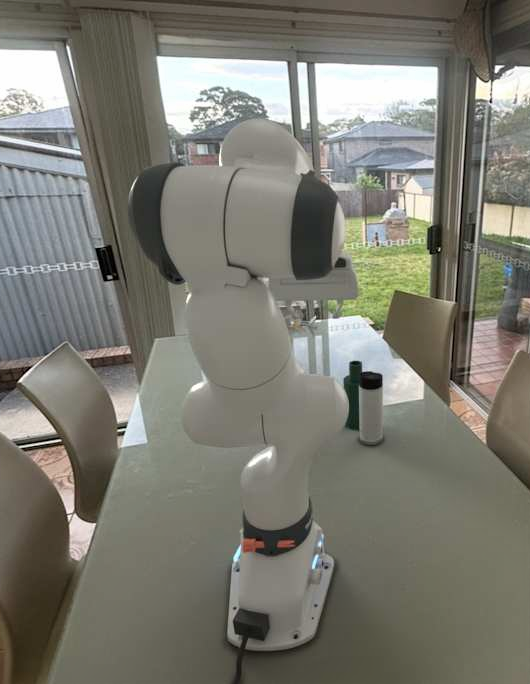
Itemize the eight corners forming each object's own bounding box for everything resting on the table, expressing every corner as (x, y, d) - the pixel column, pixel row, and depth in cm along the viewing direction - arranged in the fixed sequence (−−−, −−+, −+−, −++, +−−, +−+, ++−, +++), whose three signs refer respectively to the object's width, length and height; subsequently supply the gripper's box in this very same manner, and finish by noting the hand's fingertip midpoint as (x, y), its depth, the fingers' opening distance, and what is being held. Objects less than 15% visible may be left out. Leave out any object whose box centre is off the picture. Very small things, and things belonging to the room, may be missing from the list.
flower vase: (325, 381, 154) (322, 313, 145) (276, 395, 144) (269, 323, 135) (308, 368, 164) (304, 304, 155) (261, 381, 155) (254, 313, 146)
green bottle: (369, 428, 125) (368, 368, 119) (344, 429, 125) (342, 368, 118) (368, 415, 132) (367, 357, 125) (344, 416, 132) (343, 358, 125)
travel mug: (354, 442, 119) (353, 375, 112) (366, 430, 125) (365, 366, 117) (375, 448, 116) (375, 380, 109) (386, 436, 122) (386, 370, 115)
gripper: (261, 261, 93) (267, 323, 98) (358, 260, 93) (359, 322, 98) (267, 256, 99) (272, 315, 104) (358, 254, 99) (359, 313, 104)
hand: (315, 318), depth 101 cm, fingers open, 8 cm apart
